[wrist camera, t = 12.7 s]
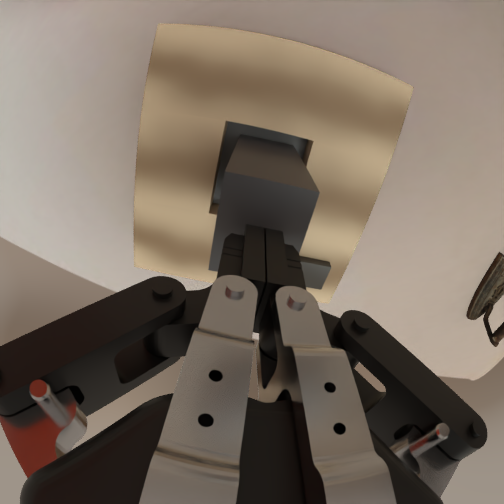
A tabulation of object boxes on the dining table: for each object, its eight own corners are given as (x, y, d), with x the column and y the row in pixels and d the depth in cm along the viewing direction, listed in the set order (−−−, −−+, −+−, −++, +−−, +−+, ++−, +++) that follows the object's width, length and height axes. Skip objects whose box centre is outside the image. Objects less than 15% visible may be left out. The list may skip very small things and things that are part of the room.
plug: (240, 133, 19) (224, 171, 11) (293, 145, 20) (320, 192, 11) (222, 227, 24) (202, 312, 15) (268, 236, 24) (272, 324, 16)
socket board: (171, 30, 16) (154, 21, 12) (395, 85, 17) (419, 87, 14) (145, 248, 26) (131, 271, 23) (323, 283, 28) (330, 309, 25)
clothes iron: (517, 259, 26) (544, 314, 20) (470, 302, 34) (489, 356, 27) (502, 248, 25) (534, 311, 18) (450, 297, 32) (470, 358, 26)
